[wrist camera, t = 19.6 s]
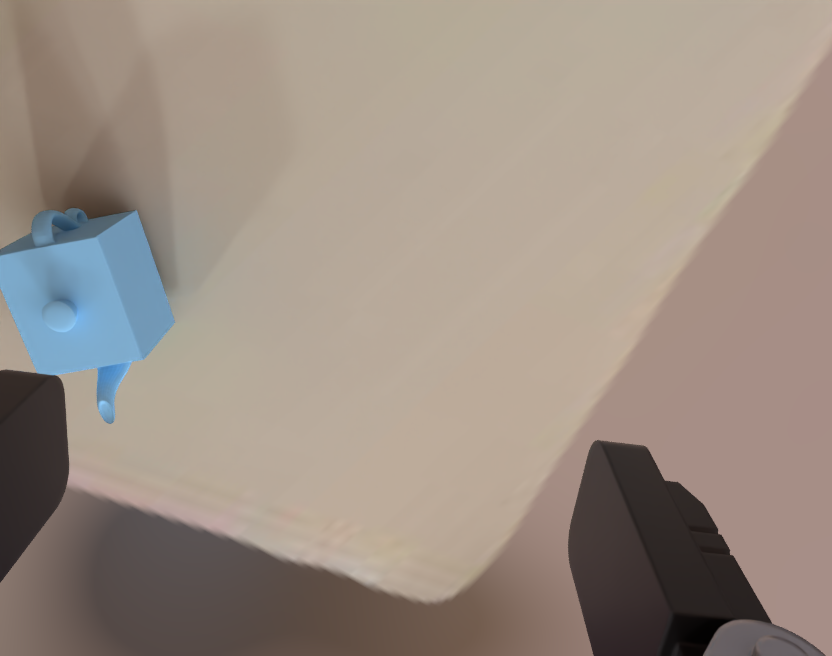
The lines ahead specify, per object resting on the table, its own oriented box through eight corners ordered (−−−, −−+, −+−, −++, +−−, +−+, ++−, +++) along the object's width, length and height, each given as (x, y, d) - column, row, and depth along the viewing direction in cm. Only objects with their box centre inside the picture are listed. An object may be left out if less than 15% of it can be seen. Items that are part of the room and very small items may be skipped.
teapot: (196, 364, 47) (156, 423, 40) (106, 379, 48) (52, 440, 41) (133, 181, 43) (77, 212, 36) (36, 200, 43) (-39, 234, 36)
